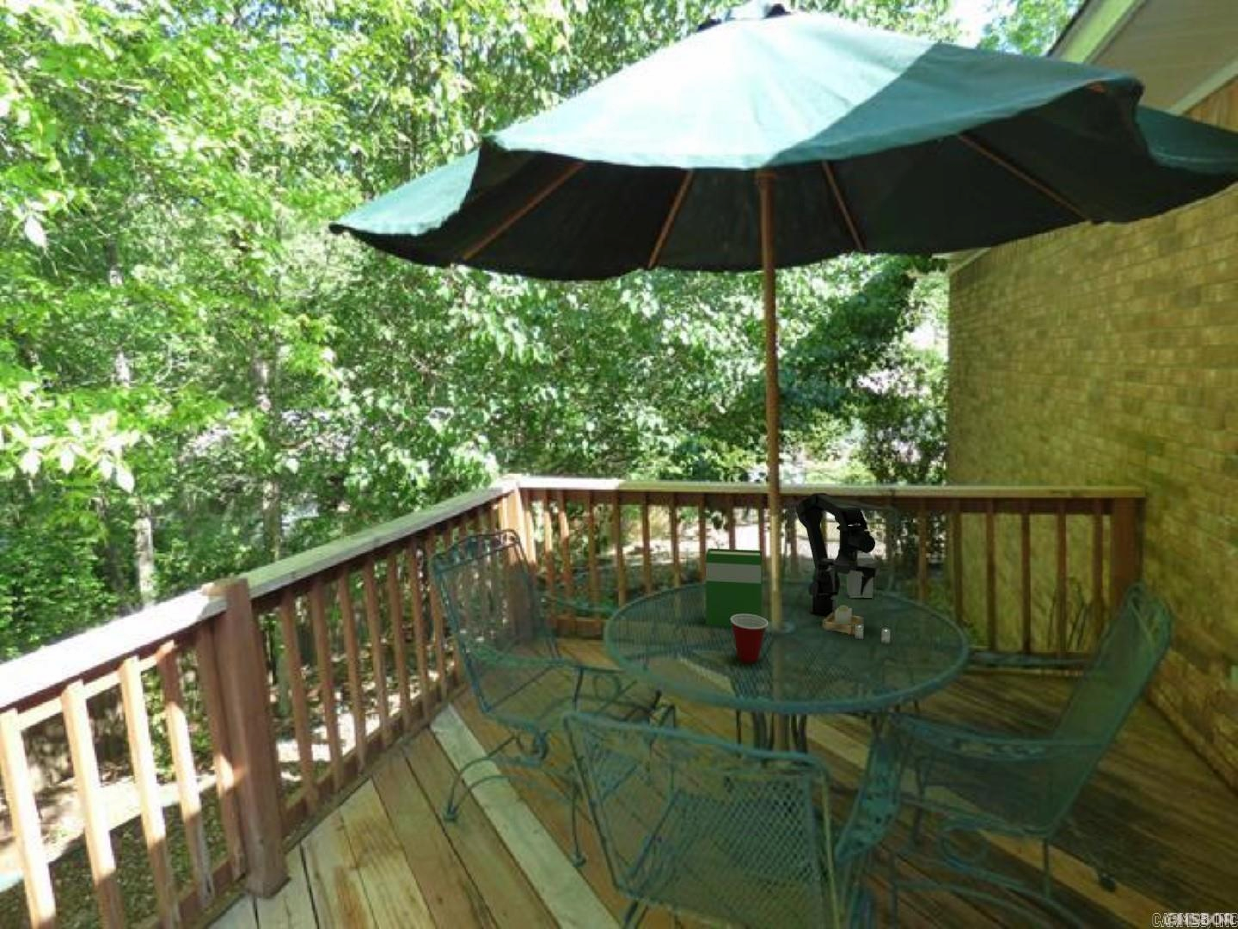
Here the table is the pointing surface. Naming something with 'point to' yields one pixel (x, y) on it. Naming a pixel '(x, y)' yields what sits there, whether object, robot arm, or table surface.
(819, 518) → the robot arm
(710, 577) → the hardback book
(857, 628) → the peg
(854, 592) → the skincare box
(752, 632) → the plastic cup
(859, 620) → the wooden tray
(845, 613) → the plug block
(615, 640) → the table surface
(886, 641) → the peg
